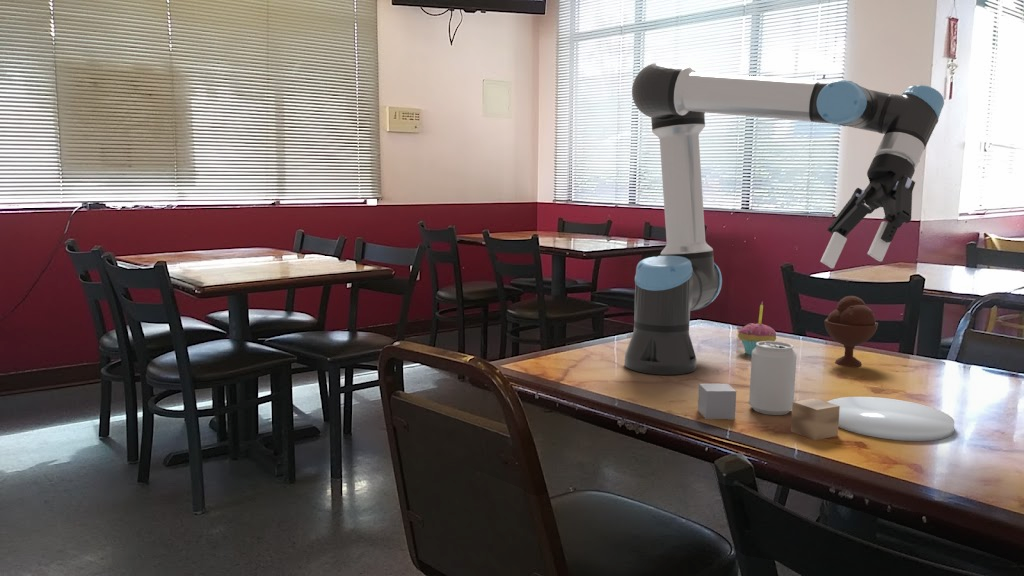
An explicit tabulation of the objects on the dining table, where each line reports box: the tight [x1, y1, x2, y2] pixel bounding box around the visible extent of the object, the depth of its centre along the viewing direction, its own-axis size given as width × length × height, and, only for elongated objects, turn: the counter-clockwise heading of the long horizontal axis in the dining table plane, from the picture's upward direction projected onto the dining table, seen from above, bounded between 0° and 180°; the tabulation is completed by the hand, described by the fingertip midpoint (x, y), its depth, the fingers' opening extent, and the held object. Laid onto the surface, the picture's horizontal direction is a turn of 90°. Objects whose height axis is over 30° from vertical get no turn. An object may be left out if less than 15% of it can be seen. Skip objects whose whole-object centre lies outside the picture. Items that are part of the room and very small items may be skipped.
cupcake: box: [737, 301, 777, 356], centre depth 186 cm, size 9×8×12 cm
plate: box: [826, 396, 955, 442], centre depth 135 cm, size 20×20×2 cm
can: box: [748, 340, 798, 416], centre depth 141 cm, size 8×8×12 cm
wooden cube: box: [790, 397, 840, 441], centre depth 129 cm, size 5×5×5 cm
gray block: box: [697, 383, 737, 420], centre depth 138 cm, size 5×5×5 cm
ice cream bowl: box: [823, 295, 879, 368], centre depth 176 cm, size 11×11×15 cm
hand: (849, 261), depth 146 cm, fingers open, 13 cm apart
